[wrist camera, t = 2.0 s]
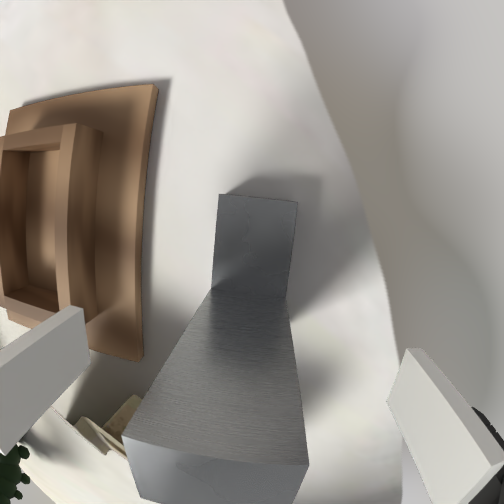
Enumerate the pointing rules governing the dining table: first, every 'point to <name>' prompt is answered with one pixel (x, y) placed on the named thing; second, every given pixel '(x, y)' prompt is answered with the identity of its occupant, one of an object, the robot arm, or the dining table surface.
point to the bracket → (229, 377)
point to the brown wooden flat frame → (77, 212)
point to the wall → (107, 428)
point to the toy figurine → (12, 473)
